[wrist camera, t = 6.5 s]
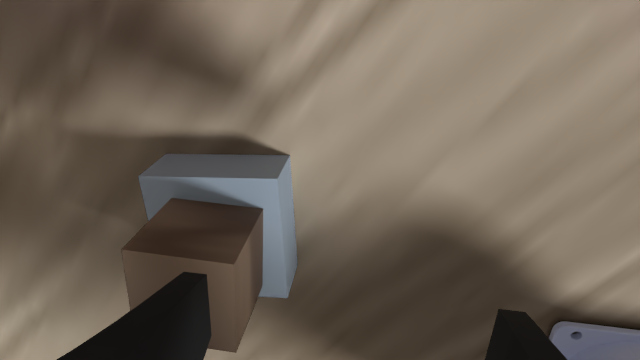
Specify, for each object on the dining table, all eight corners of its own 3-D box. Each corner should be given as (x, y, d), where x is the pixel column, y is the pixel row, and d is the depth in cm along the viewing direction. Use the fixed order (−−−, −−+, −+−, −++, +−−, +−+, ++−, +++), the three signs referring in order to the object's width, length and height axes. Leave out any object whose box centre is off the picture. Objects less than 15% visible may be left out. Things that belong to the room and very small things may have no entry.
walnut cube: (263, 208, 19) (234, 264, 15) (262, 285, 20) (235, 352, 17) (171, 197, 19) (121, 249, 15) (178, 274, 21) (134, 337, 17)
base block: (291, 152, 21) (277, 178, 18) (299, 260, 23) (287, 298, 20) (169, 150, 21) (137, 176, 19) (189, 255, 24) (164, 291, 21)
